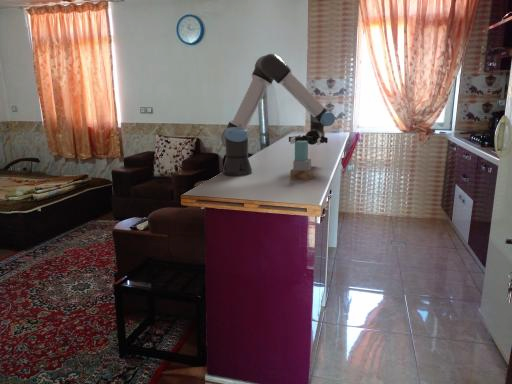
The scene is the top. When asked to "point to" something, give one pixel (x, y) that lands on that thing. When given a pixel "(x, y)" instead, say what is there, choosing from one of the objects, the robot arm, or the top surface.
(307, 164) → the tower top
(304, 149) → the column block
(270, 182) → the top surface
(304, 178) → the tower base
